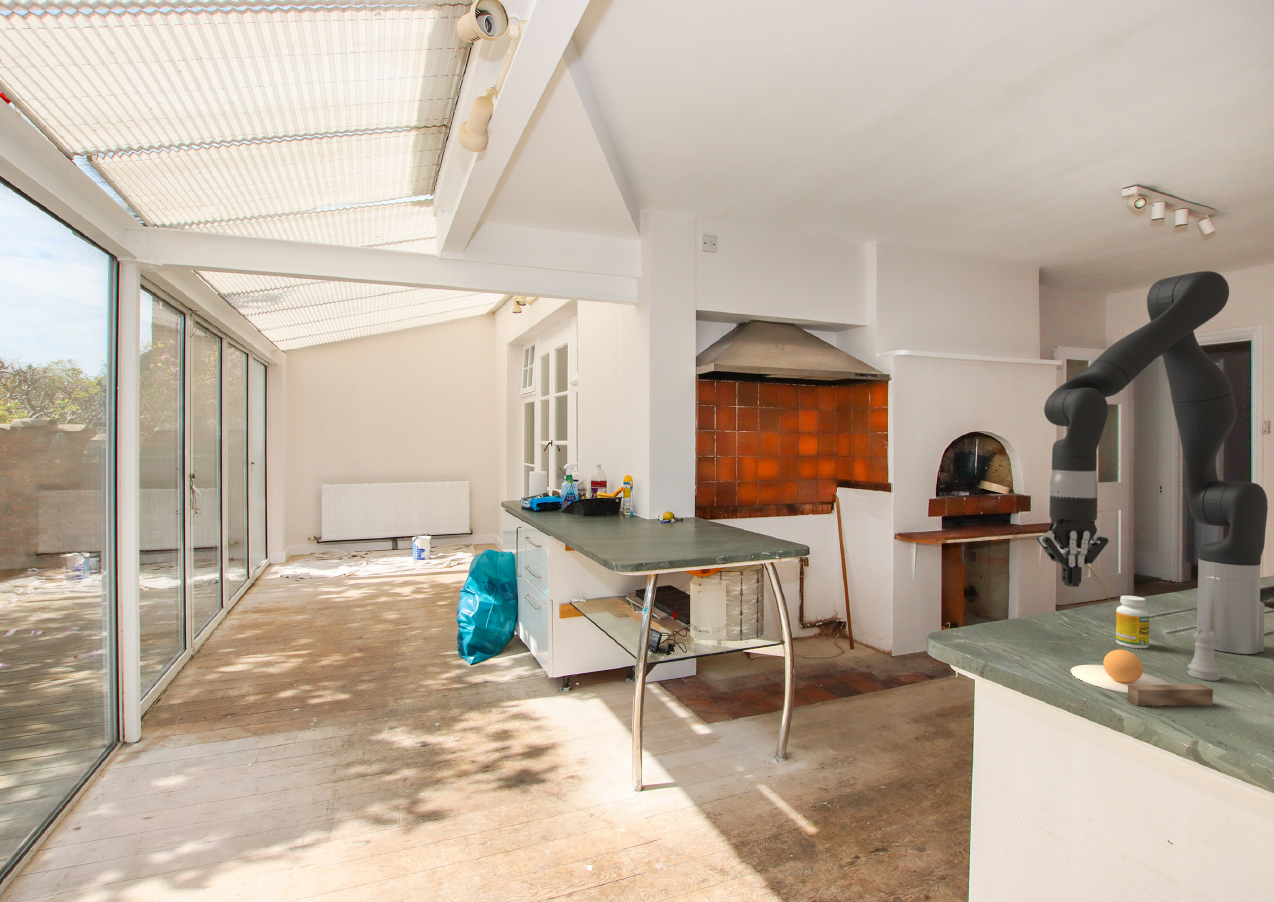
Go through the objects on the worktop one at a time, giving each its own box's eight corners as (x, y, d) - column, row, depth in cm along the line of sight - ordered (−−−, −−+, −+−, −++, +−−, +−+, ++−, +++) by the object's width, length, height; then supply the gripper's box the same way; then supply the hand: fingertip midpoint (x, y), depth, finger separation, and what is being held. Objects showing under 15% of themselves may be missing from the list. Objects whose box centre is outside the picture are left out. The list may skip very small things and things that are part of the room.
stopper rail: (1200, 700, 103) (1201, 684, 103) (1212, 705, 101) (1212, 689, 101) (1127, 700, 103) (1127, 684, 103) (1137, 705, 101) (1138, 689, 101)
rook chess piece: (1213, 674, 115) (1214, 629, 115) (1226, 683, 111) (1227, 636, 111) (1182, 671, 117) (1183, 626, 117) (1194, 679, 113) (1195, 633, 112)
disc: (1126, 665, 119) (1126, 664, 119) (1195, 695, 106) (1195, 693, 106) (1052, 665, 119) (1052, 664, 119) (1111, 695, 105) (1111, 694, 105)
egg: (1139, 688, 111) (1117, 661, 115) (1157, 669, 108) (1134, 642, 112) (1111, 690, 110) (1090, 662, 114) (1129, 670, 107) (1106, 643, 111)
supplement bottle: (1122, 639, 136) (1123, 593, 136) (1153, 646, 131) (1154, 598, 131) (1110, 643, 133) (1111, 596, 133) (1142, 650, 128) (1143, 602, 128)
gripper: (1052, 495, 120) (1051, 590, 120) (1122, 496, 120) (1120, 590, 121) (1026, 492, 127) (1024, 581, 127) (1092, 493, 128) (1090, 581, 128)
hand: (1071, 585), depth 124 cm, fingers closed
